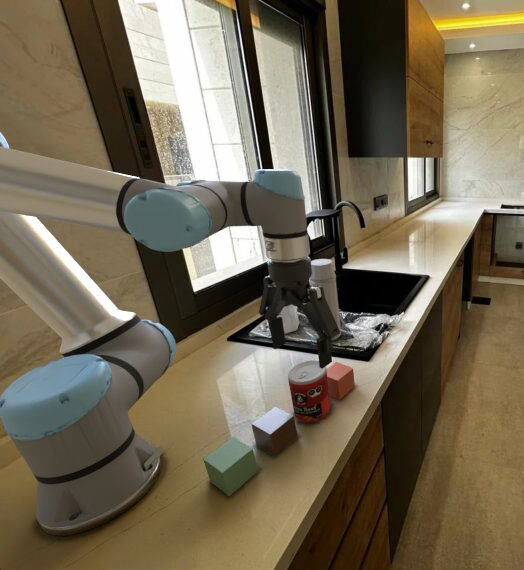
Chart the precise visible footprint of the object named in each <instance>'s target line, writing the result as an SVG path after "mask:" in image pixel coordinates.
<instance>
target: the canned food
mask: <svg viewBox="0 0 524 570" xmlns="http://www.w3.org/2000/svg"><path fill="white" fill-rule="evenodd" d="M287 380H288V387H289V392H290V399H291V403H292V409H293V415H294V418H296V420H297V421H298V422H300V423H302V424H312V423H316V422H319V421H321V420H322V419H324V418H325V417H326V416H327V415H328V414H329V412H330V409H331V405H332V404H331V403H332V402H331V396H330V394H329V386H328V377H327V366H325V367H324V368H323V369H322V368H320V367H319V360H317V359H316V360H315V359H313V360H311V359H310V360H305V361H302V362H299V363H297V364H295V365H294V366H292V368H291V369H289V370H288V373H287Z"/></svg>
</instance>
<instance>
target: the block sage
mask: <svg viewBox="0 0 524 570" xmlns="http://www.w3.org/2000/svg"><path fill="white" fill-rule="evenodd" d="M202 460H203V463H204V467H205V469H206V470H205V471H206V472H207V476H208V479H209V483H211V484H212V485H214V486H215V487H216V488H218V489H219V490H220V491H221V492H222V493H224V494H226V495H227V496H229V497H231V496H232V495H233V494H234V493H235V492H236V491H237V490H239V488H241V487H242V486H243V485H245V483H247V482H248V481H249V480H250V479H251V478H252V477H253V476H254V475H256V474H257V473H258V472H259V469H258V464H257V460H256V456H255V452H254V448H252V447H251V446H250V445H247V444H246V443H244V442H243V441H241V440H240V439H238V438H236V437H234V436H233V437H231V438H230V439H229V440H227V441H226V442H224V443H223V444H222V445H220V446H219V447H217V448H216V449H214V450H213V451H212V452H211V453H209V454H208V455H207V456H205V457H204V458H203V459H202Z"/></svg>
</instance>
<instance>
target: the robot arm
mask: <svg viewBox="0 0 524 570" xmlns="http://www.w3.org/2000/svg"><path fill="white" fill-rule="evenodd" d="M305 199H306V196H305V195H304V188H303V182H302V177H301V174H300V173H299V172H298V171H296V170H293V169H283V168H281V169H279V168H277V169H275V168H274V169H273V168H272V169H270V168H269V169H263V168H262V169H255V170H254V171H253V178H252V180H249V181H248V180H247V181H229V180H227V181H226V180H206V179H198V180H195V179H194V180H184V181H183V180H182V181H180V182H178V183H177V184H176V185H172V184H168V183H163V182H159V181H154V180H151V179H144V178H141V177H139V176H138V177H137V176H134V175H133V176H132V175H128V174H123V173H119V172H115V171H111V170H107V169H102V168H98V167H93V166H88V165H85V164H80V163H75V162H71V161H66V160H62V159H57V158H54V157H49V156H45V155H40V154H35V153H31V152H27V151H22V150H18V149H14V148H10V145H9V143H8V142H7V140H6V138H5V136H4V135H3V134H2V132H1V131H0V280H1V281H2V282H4V284H5V285H6V286H7V287H9V288H10V289H11V290H12V291H13V292H14V293H15V295H17V296H18V297H19V298H20V299H21V300H22V301H23V302H24V303H25V304H26V305H27V306H28V307H29V308H30V309H31V310H32V311H33V312H34V313H35V314H36V315H37V316H38V317H40V319H41V320H43V321H44V323H46V325H47V326H48V327H50V328H51V329H52V330H53V331H54V332H55V333H56V334H57V335H58V336H59V337H60V338H61V344H60V347H59V354H60V355H61V356H62V357H60V358H58V359H55V360H51V361H49V362H48V364H46V365H43V366H37V367H36V368H34V369H33V368H32V369H31V370H30V371H28V372H26V373H25V374H23V375H21V376H20V377H18V378H17V379H16V380H14V381H13V382H11V384H10V385H8V387H7V388H6V389H5V390H4V391H3V392H2V393H1V395H0V419H1V422H2V429H3V431H4V432H5V433H6V434H7V436H8V437H10V439H11V441H12V442H13V443H14V445H15V447H16V449H17V450H18V452H19V453H20V455H21V456H22V458H23V459H24V461H25V463H26V464H27V466H28V468H29V469H30V472H31V473H32V474H33V476H34V478H35V480H36V481H37V490H36V510H35V518H36V520H37V522H38V524H39V525H40V527H41V529H42V530H43V531H44V532H46V534H49V535H53V536H71V535H76V534H79V533H84V532H87V531H90V530H92V529H95V528H97V527H100V526H102V525H103V524H106V523H107V522H110V521H111V520H113V519H115V518H117V517H118V516H119V515H121V514H123V513H124V512H125V511H127V510H128V509H130V508H131V507H133V506H134V505H135V504H136V503H137V502H139V501H140V500H141V499H142V498H144V496H145V495H146V494H147V493H148V492H149V491H150V490H151V488H152V487H153V486H154V485H155V484H156V482H157V480H158V479H159V478H160V474H161V473H162V469H163V461H162V458H161V455H162V454H163V453H164V450H163V447H162V445H160V446H159V447H158V448H155V446H153V445H152V444H150V443H149V442H148V441H147V440H146V439H144V437H143V438H142V436H141V435H139V434H137V433H136V430H135V429H134V426H133V424H132V420H131V419H130V416H129V411H130V410H131V409H132V407H134V405H136V403H137V402H138V401H140V399H141V398H142V397H143V396H144V394H146V393H147V391H148V390H149V389H150V388H151V387H152V386H153V385H154V384H155V383H156V382H157V381H158V380H159V379H160V378H161V377H162V376H164V375H165V374H166V372H167V371H168V370H169V368H170V366H171V364H173V362H174V360H175V357H176V355H177V344H176V343H177V342H176V339H175V338H174V336H173V334H172V333H171V331H170V330H169V329H168V328H166V327H165V326H164V325H163V324H161V323H159V322H153V321H152V320H150V319H141V317H140V316H139V315H137V313H136V312H133V311H127V310H122V309H119V308H118V307H117V306H116V304H115V303H114V302H113V301H112V300H111V299H110V298H109V297H108V295H106V293H105V292H104V291H103V290H102V289H101V288H100V286H99V285H98V284H97V283H96V282H95V281H94V280H93V279H92V278H91V277H90V276H89V275H88V273H87V272H86V271H85V270H84V268H83V267H82V266H81V265H80V264H79V263H78V262H77V261H76V260H75V259H74V257H73V256H72V255H71V254H70V253H69V252H68V251H67V250H66V249H65V247H64V246H63V245H62V244H61V243H60V242H59V241H58V240H57V239H56V237H55V236H54V235H53V234H52V233H51V232H50V230H48V229H47V228H46V226H45V225H44V224H43V223H42V222H41V220H39V219H44V220H48V221H53V222H58V223H64V224H69V225H75V226H79V227H80V226H81V227H86V228H91V229H96V230H101V231H106V232H107V231H108V232H113V233H118V234H124V235H129V236H132V238H134V239H135V240H136V241H137V242H139V243H140V244H142V245H143V246H145V247H147V248H148V249H151V250H152V251H153V250H154V251H158V252H164V253H165V252H166V253H171V252H178V251H180V250H183V249H189V248H192V247H194V246H196V245H198V244H200V243H201V242H202V241H204V240H205V239H206V240H207V238H209V237H211V236H213V235H214V234H215V235H216V234H217V233H219V232H221V231H223V230H225V229H227V228H231V227H261V230H262V237H263V240H264V247H265V254H266V258H268V260H267V269H268V276H264V277H263V291H262V296H261V301H260V304H259V309H258V313H259V315H260V316H264V319H265V320H266V321H267V324H268V329H269V332H270V337H271V338H270V339H271V344H272V348H273V349H274V350H277V349H279V348H281V347H282V346H284V345H286V344H287V340H286V334H284V327H283V320H282V317H278V318H277V316H279V315H281V314H280V312H281V311H282V309H283V308H284V306H285V304H286V303H287V304H292V305H294V306H297V310H298V311H300V312H302V313H303V314H304V316H305V317H306V319H307V320H308V322H309V324H310V325H311V326H312V328H313V329H314V331H315V333H316V334H317V338H316V348H317V356H318V361H319V367H320V368H322V369H323V368H324V367H325V366H326V367H327V366H328V365H330V364H331V363H333V356H332V355H333V353H332V351H333V349H334V347H333V346H334V345H333V341H332V338H333V337H335V336H336V335H338V334H340V330H339V328H338V325H337V323H336V321H335V319H334V317H333V314H332V312H331V310H330V308H329V305H328V303H327V301H326V299H325V295H324V289H323V287H322V286H318V287H316V288H315V287H312V286H311V283H310V282H309V279H310V277H311V275H312V267H311V261H312V258H311V257H310V256H309V255H310V254H311V248H310V247H311V246H310V239H309V233H308V224H307V222H308V221H307V212H306V201H305ZM310 280H311V279H310ZM323 330H324V332H323ZM318 336H319V337H318Z"/></svg>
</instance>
